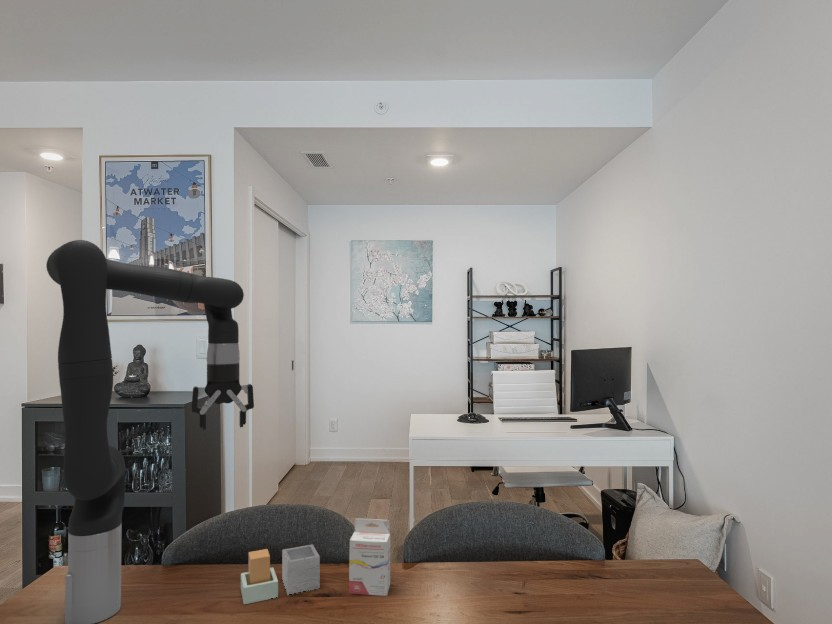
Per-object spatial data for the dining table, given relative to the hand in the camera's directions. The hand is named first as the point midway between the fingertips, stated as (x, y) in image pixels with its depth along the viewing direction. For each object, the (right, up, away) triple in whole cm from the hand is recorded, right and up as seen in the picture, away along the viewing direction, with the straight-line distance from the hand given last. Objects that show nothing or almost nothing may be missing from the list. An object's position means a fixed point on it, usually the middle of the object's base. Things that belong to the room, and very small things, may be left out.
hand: (223, 428), depth 127 cm
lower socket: (+13, -33, -14) cm, 38 cm away
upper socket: (+21, -33, -11) cm, 41 cm away
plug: (+13, -32, -14) cm, 38 cm away
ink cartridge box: (+37, -33, -13) cm, 51 cm away
